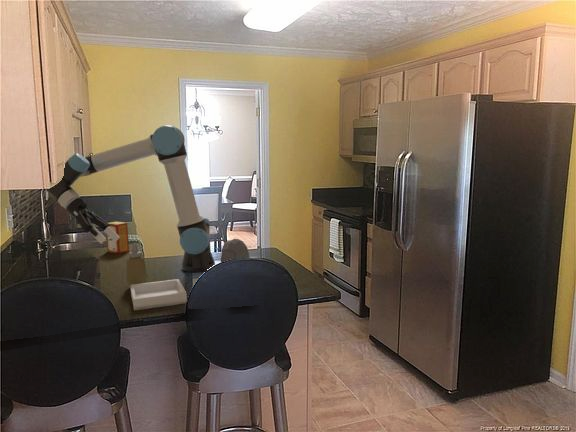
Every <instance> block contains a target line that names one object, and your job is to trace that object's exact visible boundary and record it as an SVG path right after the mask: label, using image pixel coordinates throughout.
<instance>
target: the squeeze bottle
mask: <svg viewBox="0 0 576 432" xmlns="http://www.w3.org/2000/svg"><path fill="white" fill-rule="evenodd" d="M125 276H126V279H125V280H126V282H127V285H128V287H129V289H131V287H130V285H134V284H142V283H147V282H148V281H147V280H148V272H147V267H146V261H145V258H144V256H142V251H141V250H140V251H139V248H138V245H137V242H133V243H132V248H131V251H129V252H128V258H127V260H126V275H125Z"/></svg>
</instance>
